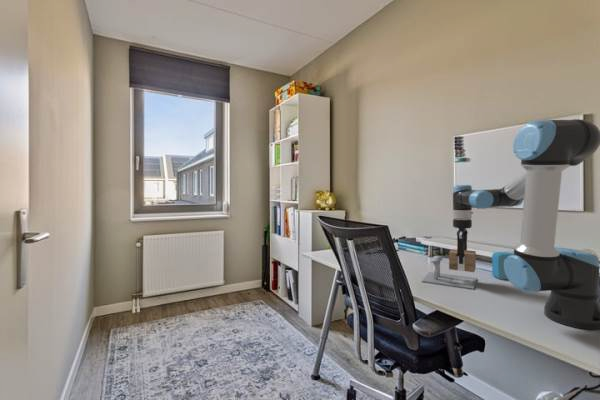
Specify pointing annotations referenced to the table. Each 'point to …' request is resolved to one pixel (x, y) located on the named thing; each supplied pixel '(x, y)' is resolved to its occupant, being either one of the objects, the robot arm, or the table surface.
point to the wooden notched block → (469, 260)
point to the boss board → (448, 277)
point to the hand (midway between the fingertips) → (462, 268)
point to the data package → (499, 264)
